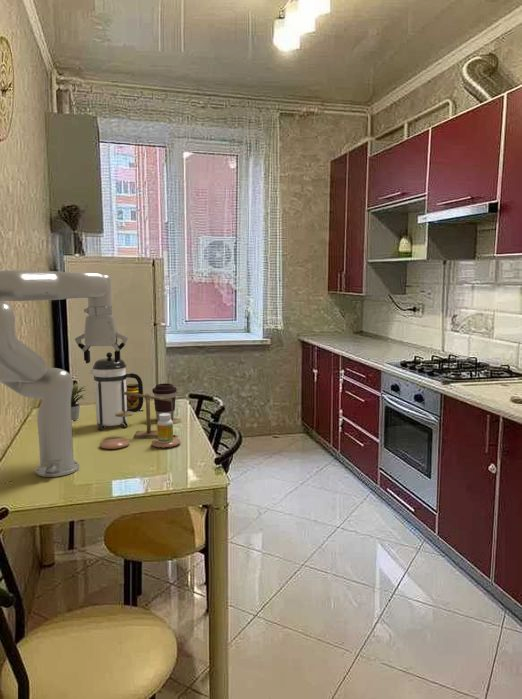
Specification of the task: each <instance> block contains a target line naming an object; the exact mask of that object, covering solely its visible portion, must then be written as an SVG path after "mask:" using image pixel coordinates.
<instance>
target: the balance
mask: <svg viewBox="0 0 522 699" xmlns="http://www.w3.org/2000/svg"><path fill="white" fill-rule="evenodd" d="M124 395H131V396H138V397H143V399H145V411H146V412H145V414H146V430H136V431H135V433H134V434H133V439H158V429H157V430H156V429H155V430H151V429H152V428H151V403H150V402H151V401H150V400H154V399H157V400H164V401H170V402H171V416H172V418H170V420H172V421H173V425H176V424H180V423H182V419H181V418H178V417H174V418H173V404H172V399H168V398H162V397H155V396H154V395H151V394H150V393H145V394H143V395H142V394H136V393H129V392H123V411H121V412H117V413H115V416H117V417H127V418H128V417H131V416H133V415H134V413H133V412H131V411H125V402H124Z"/></svg>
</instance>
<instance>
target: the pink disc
mask: <svg viewBox="0 0 522 699" xmlns="http://www.w3.org/2000/svg"><path fill="white" fill-rule="evenodd" d="M129 445H130V440H129V439H127V438H118V437H117V438H109V439H104V440H102V441H101V442H100V443H99V447H100V448H102V449H106V450H107V449H108V450H117V449H122V448H125V447H126V446H127V447H128V446H129Z"/></svg>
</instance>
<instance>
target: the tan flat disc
mask: <svg viewBox="0 0 522 699" xmlns="http://www.w3.org/2000/svg"><path fill="white" fill-rule="evenodd" d="M181 441H182V440H181V439H180V438H178V437H173V441H172V442H170V443H159V442H158V438H154V439H153V440H152V441H151V445H152V446H153V447H155V448H160V447H162V448H163V449H166V448H165V447H169V448H173V446H174V447H177V446H178V445H180V444H181V443H182V442H181Z"/></svg>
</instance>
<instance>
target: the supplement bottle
mask: <svg viewBox="0 0 522 699" xmlns="http://www.w3.org/2000/svg"><path fill="white" fill-rule="evenodd" d="M170 418H171V415H170V414H169V413H163V414H159V419H160V420H159V421H158V420H157V422H156V426H157V428H156V429H157V430H158V438H157V439H158V442H159V443H170V442H172V441H173V438H174V424H173V421H172V420H170Z"/></svg>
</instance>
